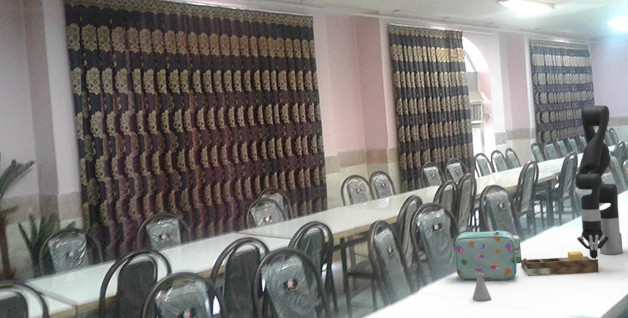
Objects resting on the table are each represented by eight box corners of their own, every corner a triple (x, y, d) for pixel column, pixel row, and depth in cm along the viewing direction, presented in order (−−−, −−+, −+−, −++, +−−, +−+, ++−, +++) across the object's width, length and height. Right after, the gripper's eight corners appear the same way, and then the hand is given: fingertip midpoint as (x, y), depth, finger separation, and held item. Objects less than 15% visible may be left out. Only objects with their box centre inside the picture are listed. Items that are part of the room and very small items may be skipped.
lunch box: (520, 274, 264) (516, 227, 263) (520, 281, 254) (516, 231, 253) (458, 275, 273) (454, 229, 272) (456, 281, 263) (452, 233, 262)
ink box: (522, 262, 284) (520, 238, 283) (511, 263, 285) (509, 238, 284) (519, 258, 292) (517, 234, 292) (509, 258, 293) (507, 235, 293)
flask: (469, 297, 239) (467, 272, 238) (487, 295, 239) (485, 270, 239) (476, 302, 231) (474, 277, 231) (494, 300, 232) (492, 275, 232)
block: (580, 262, 263) (579, 251, 263) (583, 265, 258) (582, 253, 258) (568, 263, 264) (567, 251, 264) (571, 265, 259) (570, 254, 259)
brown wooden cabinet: (587, 262, 273) (586, 251, 272) (598, 272, 256) (597, 259, 256) (521, 266, 278) (520, 254, 277) (528, 275, 261) (527, 263, 261)
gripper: (577, 221, 257) (580, 261, 258) (610, 219, 255) (612, 259, 256) (572, 218, 264) (575, 257, 265) (604, 216, 262) (607, 255, 263)
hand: (593, 258), depth 260 cm, fingers closed
